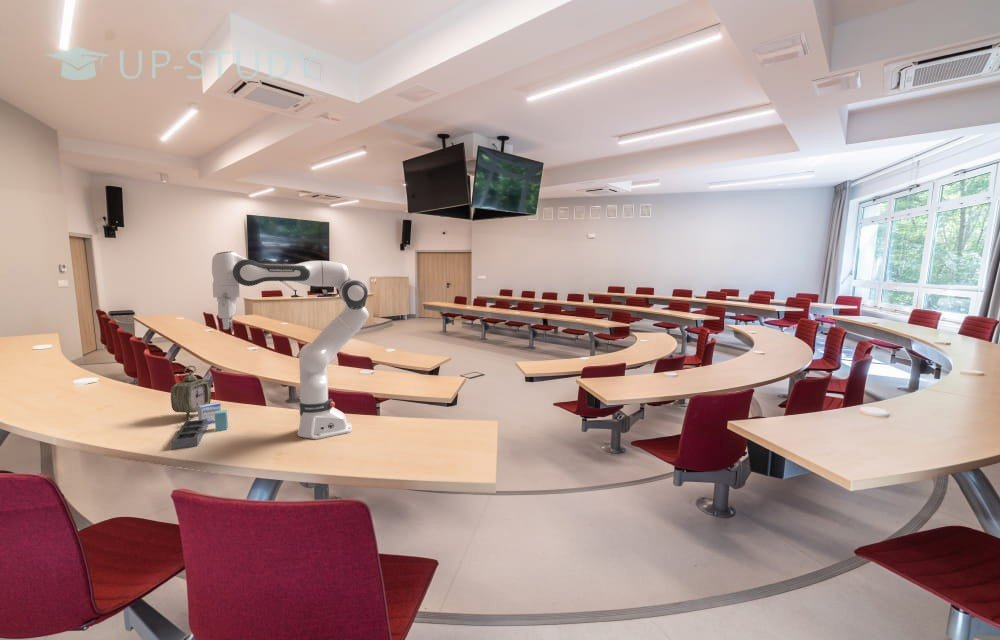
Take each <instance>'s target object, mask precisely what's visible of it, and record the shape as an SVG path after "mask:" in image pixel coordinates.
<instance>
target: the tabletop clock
mask: <svg viewBox="0 0 1000 640" xmlns="http://www.w3.org/2000/svg"><path fill="white" fill-rule="evenodd" d="M189 368H193V369H194V370H193V371H188V373H187V372H186V371H187V370H188V369H189ZM196 371H197V369H196V366H194V365H188V366H186V367H185V368H184V369H183V374H185V375H186V376H185V377H184V378H183V380H181V381H179V382H177V383H176V384H173V385H172V386H171V388H170V402H171V408H172V411H174V412H175V413H186V414H185V417H186V421H192V420H191V419H192V417H190V415H191V414H190V413H192V414H193V413H198V406H200V405H205V404H210V403H211V401H212V399H211V398H212V393H211V392H212V391H211V383H210V380H209V379H199V378H197V376H196V375H194V373H195V372H196Z"/></svg>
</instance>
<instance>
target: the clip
mask: <svg viewBox="0 0 1000 640" xmlns="http://www.w3.org/2000/svg"><path fill="white" fill-rule="evenodd" d="M228 424H229V423H228V410H227V409H224V410H223V409H221V411H216V413H215V423H214V426H215V432H221V431H227V430H228V426H229V425H228Z"/></svg>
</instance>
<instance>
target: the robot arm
mask: <svg viewBox="0 0 1000 640" xmlns="http://www.w3.org/2000/svg"><path fill="white" fill-rule="evenodd" d="M211 275H212V277H213V278H212V279H213V282H212V298H216V302H217V316H218V318H219V319H221V322H222V328H223V330H229V329H230V327H232V326H233V319H234V318H233V316H234V315H236V311H237V298H240V297H241V296H240V294H241V291H240V285H242V286H245V287H253V286H254V287H255V286H256V285H259V284H261V283H264V282H292V283H293V282H294V283H298V284H300V285H305V286H311V287H333V288H336V291H337V293H338V296H339V298H340V299H341V301H342V302H344V303H345V306H344V308H343V310H342V311H341V312H340V313H339V314H338V315H337V316H336V317H335V318H334V319H333V320H331V321H330V322H329V324H328V325H326V327H324V328H323V330H321V332H320V333H319V334H318V335H317V336H316V337H315V339H314V340H313V341H312V342H308V343H306V344H304V345H302V347H301V349H300V351H299V352H298V356H299V357H298V359H299V363H298V364H299V389H300V391H299V392H300V393H299V394H300V397H299V398H300V401H299V404H298V405H299V406H298V407H299V408H298V409H299V410H298V411H299V418H300V419H299V425H298V430H297V433H296V434H297V436H298V437H301V438H304V439H305V438H306V439H312V440H319V439H324V438H328V437H334V436H338V435H343V434H348V433H351V432H352V430H353V425H352V423H351V422H349V421H348V420H347V417H346V415H345V414H344V413H345V412H342V411H340V410H339V409H337V408H336V407H335V405H336V404H335V402H334V401H333V399H332V398H329V383H328V382H329V379H328V367H327V366H328V365H329V364H330V363H331V361H332V360H333V359H334V358H335V357H336V355H337V354H338V353H340V351H341V350H342V349H343V347H344V346H345V345H347V343H348V342H350V340H351V339H352V338H353V337H354V336H355V335H356V334H357V333H358V332H359V331H361V329H362V328H363V326H364V325H365V324H366V322H367V320H368V319H369V317H370V314H369V311H368V310H367V308H366V307H365V306H366V302H367V299H368V293H369V292H368V288H367V286H366V285H365V284H364V283H363V282H362V281H360V280H356V279H352V278H351V276H350V270H349V268H348V266H347V265H346V264H344V263H342V262H339V261H338V262H337V261H330V260H309V261H303V262H299V263H295V264H287V265H285V264H280V265H279V264H266V263H265V264H263V263H260V262H258V261H256V260H253V259H249V258H246V257H244V256H242V255H240V254H238V253H237V252H235V251H221V252H217V253H215V254H214V255H213V257H212V260H211Z"/></svg>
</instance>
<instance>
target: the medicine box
mask: <svg viewBox="0 0 1000 640" xmlns="http://www.w3.org/2000/svg"><path fill="white" fill-rule="evenodd" d="M221 410H222V405H221V403H220V402H219V401H218V402H210V404H205V405H200V406H198V412H197V416H198V419H197V420H204V419H208V425H212V424H215V413H216V411H221Z"/></svg>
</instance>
